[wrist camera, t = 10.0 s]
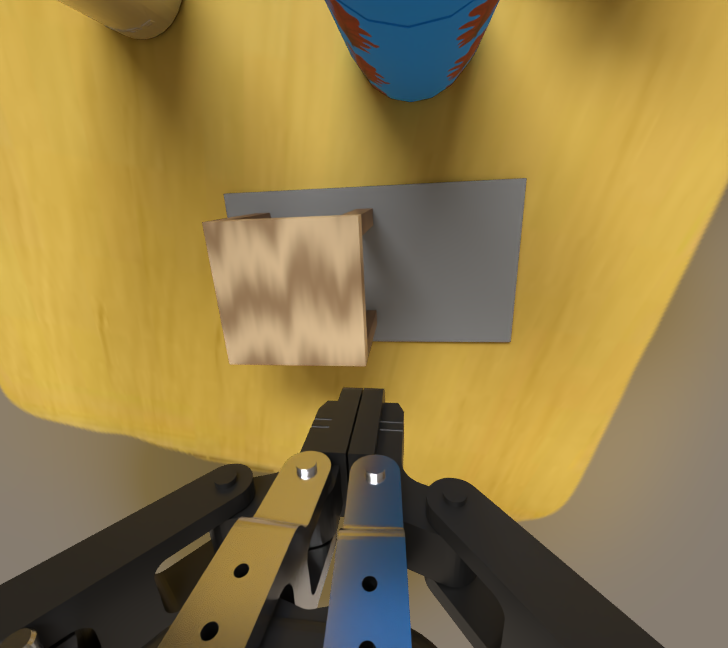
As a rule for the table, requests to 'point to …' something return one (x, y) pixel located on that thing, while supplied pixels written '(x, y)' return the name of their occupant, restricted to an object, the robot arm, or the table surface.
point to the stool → (292, 288)
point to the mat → (425, 252)
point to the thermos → (412, 41)
